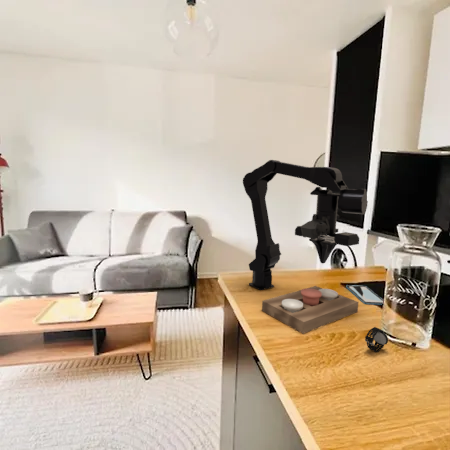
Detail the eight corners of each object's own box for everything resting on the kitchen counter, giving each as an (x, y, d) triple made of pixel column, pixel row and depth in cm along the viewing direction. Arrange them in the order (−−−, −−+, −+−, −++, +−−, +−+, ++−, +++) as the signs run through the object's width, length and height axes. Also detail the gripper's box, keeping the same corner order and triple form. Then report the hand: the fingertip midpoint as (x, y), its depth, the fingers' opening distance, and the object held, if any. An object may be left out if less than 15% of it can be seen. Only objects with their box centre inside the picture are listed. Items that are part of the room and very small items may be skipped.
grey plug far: (312, 303, 90) (313, 290, 89) (324, 299, 93) (325, 287, 92) (328, 310, 85) (329, 297, 85) (340, 306, 88) (341, 293, 88)
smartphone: (364, 303, 90) (345, 285, 105) (364, 306, 91) (344, 287, 105) (388, 304, 90) (365, 285, 105) (388, 307, 91) (365, 288, 105)
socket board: (261, 310, 84) (262, 300, 84) (315, 294, 97) (315, 285, 97) (303, 333, 72) (303, 322, 72) (357, 311, 85) (358, 301, 85)
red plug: (296, 304, 85) (296, 290, 85) (309, 299, 88) (309, 287, 88) (311, 311, 81) (312, 297, 80) (324, 306, 84) (325, 293, 83)
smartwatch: (389, 354, 65) (392, 332, 64) (368, 355, 64) (370, 333, 63) (377, 343, 69) (379, 323, 68) (356, 345, 68) (358, 324, 67)
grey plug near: (276, 315, 81) (277, 301, 81) (291, 310, 84) (291, 297, 84) (292, 323, 77) (292, 309, 76) (306, 318, 80) (307, 304, 79)
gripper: (283, 209, 90) (281, 259, 92) (337, 216, 75) (332, 276, 77) (308, 207, 96) (305, 254, 98) (362, 214, 81) (357, 269, 83)
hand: (322, 263), depth 89 cm, fingers closed
